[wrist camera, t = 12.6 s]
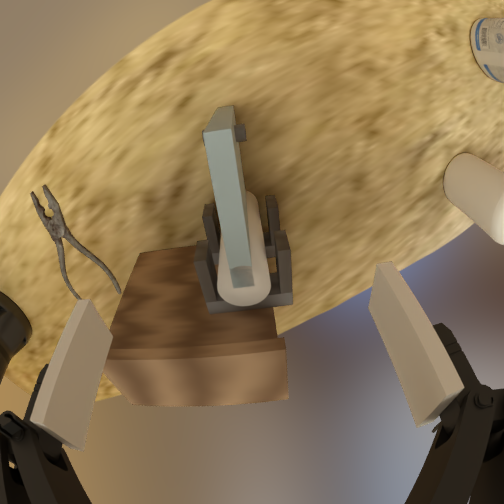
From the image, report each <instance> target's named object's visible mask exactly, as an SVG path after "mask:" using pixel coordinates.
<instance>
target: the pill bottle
mask: <svg viewBox="0 0 504 504" xmlns="http://www.w3.org/2000/svg"><path fill="white" fill-rule="evenodd" d="M443 186H444V191H445V194H446V196H447V198H448V199H449V200H450V201H451V203H453V204H454V205H455V206H456V207H457V208H459V209H460V210H461V211H462V212H463V213H465V214H466V215H467V216H468V217H469V218H470V219H472V220H473V221H474V222H475V223H476V224H477V225H478V226H480V228H482V229H483V230H484V231H485V232H486V233H487V234H488V235H489V236H491V238H492V239H493V240H494V241H496V242H497V243H500V244H503V245H504V172H503V171H501V170H499V169H498V168H496V167H494V166H493V165H491V164H489V163H487V162H486V161H484V160H482V159H480V158H478V157H477V156H475V155H472V154H469V153H462V154H459V155H457V156H456V157H454V158H453V159H452V160H451V162H450V163H449V165H448V167H447V169H446V171H445V175H444V181H443Z"/></svg>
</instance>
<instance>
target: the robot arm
mask: <svg viewBox="0 0 504 504" xmlns="http://www.w3.org/2000/svg"><path fill="white" fill-rule="evenodd" d="M368 309H369V311H370V313H371V315H372V317H373V319H374V322H375V324H376V326H377V328H378V330H379V333H380V335H381V337H382V340H383V342H384V344H385V347H386V349H387V351H388V354H389V356H390V358H391V361H392V363H393V366H394V368H395V371H396V373H397V376H398V378H399V381H400V383H401V386H402V389H403V391H404V394H405V396H406V399H407V402H408V404H409V407H410V410H411V412H412V416H413V419H414V421H415V424H416V427H417V428H418V427H421V426H423V425H426V424H428V423H431V422H433V421H434V420H435V419H436V418H437V417H438V416H440V418H441V422H440V423H439V424H437V425H436V427H434V429H433V431H432V432H433V433H434V432H435V431H436V430H437V429H438V430H437V433H436V436H435V438H434V441H433V444H432V446H431V448H430V451H429V454H428V456H427V458H426V461H425V463H424V465H423V467H422V470H421V472H420V474H419V476H418V478H417V480H416V483H415V484H414V486H413V489H412V490H411V492H410V494H409V496H408V498H407V500H406V502H405V504H467V502H468V500H469V498H470V501H469V504H504V389H496V390H492V389H491V388H490V387H488V386H486V385H482V384H480V382H479V381H478V379H477V377H476V375H475V373H474V372H473V369H472V367H471V365H470V364H469V362H468V360H467V358H466V356H465V354H464V352H463V351H462V350H461V347H460V345H459V344H458V343H457V340H456V338H455V337H454V335H453V333H452V331H451V330H450V329H448V328H447V327H446V326H445V325H444V324H443V323H439V324H436V325H433V326H432V324H431V323H430V321H429V319H428V318H427V316H426V314H425V312H424V311H423V309H422V307H421V306H420V304H419V302H418V301H417V300H416V298H415V296H414V294H413V293H412V291H411V290H410V288H409V287H408V285H407V283H406V282H405V280H404V279H403V277H402V276H401V274H400V273H399V271H398V270H397V268H396V267H395V265H394V264H393V262H392V261H391V262H385V263H378V264H377V265H376V271H375V277H374V282H373V287H372V293H371V298H370V303H369V307H368ZM31 334H32V329H31V326H30V323H29V321H28V320H27V318H26V316H25V315H24V314H23V312H22V311H21V310H20V309H19V308H18V306H17V305H16V304H15V303H14V302H13V301H11V300H10V299H9V298H8V297H7V296H5V295H4V294H2V293H1V292H0V384H1V381H2V379H3V376H4V374H5V371H6V369H7V367H8V364H9V362H10V360H11V358H12V357H13V356H14V355H15V354H16V353H18V352H19V351H20V350H21V349H22V348H23V347H24V346H25V345H26V344H27V343H28V341H29V339H30V337H31ZM112 339H113V335H112V334H111V332H110V331H109V329H108V328H107V326H106V325H105V323H104V321H103V320H102V318H101V317H100V315H99V313H98V312H97V310H96V308H95V307H94V305H93V303H92V302H91V300H90V299H83V300H78V301H77V303H76V305H75V307H74V309H73V311H72V313H71V315H70V317H69V320H68V322H67V324H66V326H65V328H64V330H63V333H62V335H61V337H60V339H59V342H58V344H57V346H56V349H55V351H54V353H53V356H52V358H51V361H50V363H49V364H46V365H45V366H44V368H43V369H42V370H41V372H40V374H39V376H38V379H37V384H35V387H34V392H33V393H32V395H31V398H30V401H29V405H28V407H27V410H26V413H25V417H24V419H23V420H21V419H20V418H19V417H18V416H16V415H15V414H14V413H13V412H11V411H5V412H3V413H2V414H1V415H0V504H92V503H91V502H90V500H89V498H88V496H87V494H86V492H85V491H84V489H83V487H82V485H81V483H80V481H79V479H78V477H77V475H76V473H75V471H74V469H73V467H72V465H71V463H70V461H69V458H68V456H67V454H66V452H65V450H64V449H63V448H62V443H63V444H65V445H66V446H68V447H69V448H72V449H76V450H80V451H84V447H85V442H86V437H87V432H88V428H89V423H90V419H91V414H92V410H93V406H94V402H95V398H96V394H97V390H98V387H99V383H100V379H101V376H102V372H103V369H104V365H105V362H106V358H107V355H108V352H109V349H110V345H111V342H112ZM9 461H10V462H12V463H14V465H15V466H14V469H13V468H11V467H9ZM470 495H471V496H470Z"/></svg>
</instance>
